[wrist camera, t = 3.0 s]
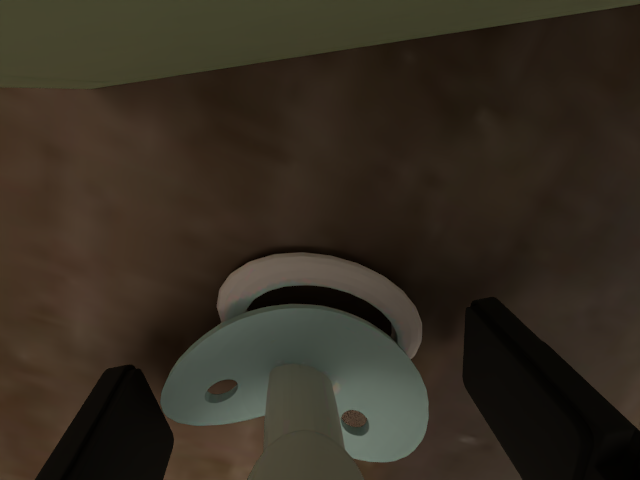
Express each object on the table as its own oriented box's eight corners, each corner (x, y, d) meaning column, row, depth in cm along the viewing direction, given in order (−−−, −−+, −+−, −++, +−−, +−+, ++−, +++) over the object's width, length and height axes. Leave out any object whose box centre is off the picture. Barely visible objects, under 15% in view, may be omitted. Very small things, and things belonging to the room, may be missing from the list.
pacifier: (235, 206, 9) (169, 372, 11) (152, 403, 3) (39, 694, 5) (453, 293, 11) (366, 421, 12) (659, 515, 5) (442, 694, 7)
